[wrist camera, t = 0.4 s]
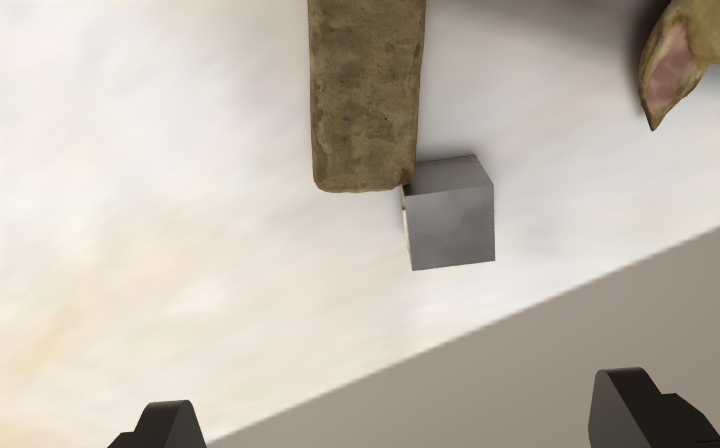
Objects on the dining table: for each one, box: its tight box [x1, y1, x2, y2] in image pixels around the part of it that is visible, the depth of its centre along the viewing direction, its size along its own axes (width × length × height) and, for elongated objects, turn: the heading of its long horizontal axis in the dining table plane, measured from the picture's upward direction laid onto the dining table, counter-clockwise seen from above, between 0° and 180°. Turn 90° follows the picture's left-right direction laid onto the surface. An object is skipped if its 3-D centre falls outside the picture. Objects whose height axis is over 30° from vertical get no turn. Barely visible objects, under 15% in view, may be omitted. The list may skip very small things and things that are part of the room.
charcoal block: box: [400, 155, 495, 271], centre depth 33 cm, size 5×5×5 cm
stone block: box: [308, 0, 426, 193], centre depth 29 cm, size 6×12×5 cm, turn 0°
